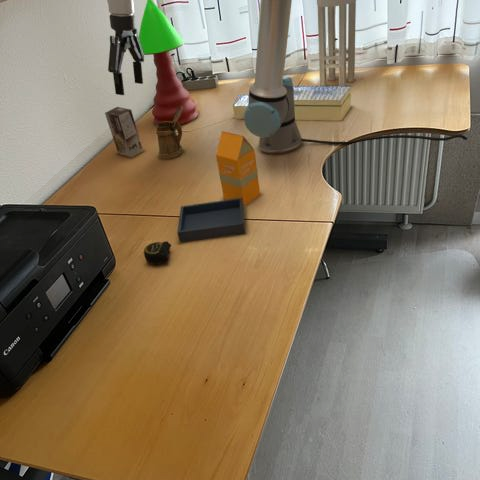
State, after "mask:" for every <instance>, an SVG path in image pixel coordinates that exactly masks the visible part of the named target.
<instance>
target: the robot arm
mask: <svg viewBox="0 0 480 480" xmlns="http://www.w3.org/2000/svg"><path fill="white" fill-rule="evenodd" d="M106 2H107V6H108V7H107V8H108V13H109V24H110V28H111V29H112V30H113V31H114V33H115V34H114V35H110V36H109V54H108V67H107V71H108V72H109V73H112V76H113V84H114V91H115V95H116V96H117V95H118V96H124V95H125V87H124V80H123V79H124V78H123V72H121V71H122V70H121V69H122V65H123V60H124V56H125V53H126V52H127V51H128V52H129V54H130V55H131V58H132V59H133V61H132V67H133V68H132V69H133V77H134V84H140V85H143V84H144V79H143V68H142V63H144V62H145V55H144V53H143V50H142V47H141V44H140V41H139V31H138V28H136V17H135V15H134V13H135V5H134V0H107V1H106ZM292 2H293V0H260V2H259V15H258V27H257V28H258V29H257V43H256V44H257V45H256V57H255V59H256V60H255V73H254V82H253V83H252V84H251V85H250V86H249V89H248V90H249V91H248V95H249V102H248V107H247V108H246V110H245V113H244V119H243V123H244V125H245V128H246V129H247V130H248V131H249V133H251V134H252V135H253V136H255V137H258V138H259V141H258V145H259V150H260V151H261V152H262V153H265V154H270V155H282V154H287V153H291V152H293V151H295V150H298V149H299V148H300V147H301V145H302V143H303V142H305V143H316V144H326V145H351V144H356V143H362V142H366V141H373V140H383V139H384V140H385V139H419V140H427V141H437V142H438V141H439V142H440V141H441V142H443V141H444V142H445V141H449V140H452V139H456V138H460V139H463V140H464V141H466V140H467V141H468V137H467V136H466V135H463V134H454V135H451V136H447V137H435V136H433V137H432V136H425V135H413V134H412V135H411V134H391V135H390V134H389V135H379V136H370V137H365V138H364V137H363V138H359V139H354V140H348V141H349V142H345V141H346V140H345V141H330V140H318V139H309V138H302V134H301V133H300V130H299V128H298V124H297V122H296V120H295V109H294V93H293V88H294V86H295V85H294V82H293V78H292V77H291V76H289V75H285V66H286V57H287V48H288V40H289V39H288V38H289V29H290V22H291V21H290V19H291V11H292V4H293V3H292ZM139 53H140V54H139Z"/></svg>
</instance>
